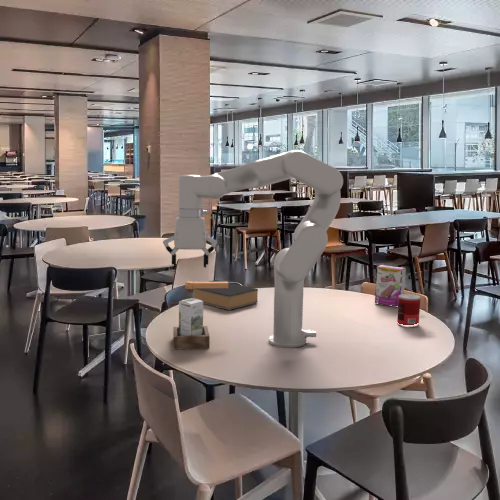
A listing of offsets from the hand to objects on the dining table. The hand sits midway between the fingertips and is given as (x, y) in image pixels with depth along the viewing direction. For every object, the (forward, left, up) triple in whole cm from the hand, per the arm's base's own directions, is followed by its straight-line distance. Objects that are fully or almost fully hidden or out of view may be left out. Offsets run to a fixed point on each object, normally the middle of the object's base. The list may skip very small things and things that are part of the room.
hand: (189, 266), depth 185 cm
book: (-16, -54, -26) cm, 62 cm away
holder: (0, -3, -26) cm, 26 cm away
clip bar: (-6, -9, -9) cm, 14 cm away
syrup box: (0, 0, -26) cm, 26 cm away
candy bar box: (-85, -43, -26) cm, 99 cm away
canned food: (-81, -14, -26) cm, 86 cm away
